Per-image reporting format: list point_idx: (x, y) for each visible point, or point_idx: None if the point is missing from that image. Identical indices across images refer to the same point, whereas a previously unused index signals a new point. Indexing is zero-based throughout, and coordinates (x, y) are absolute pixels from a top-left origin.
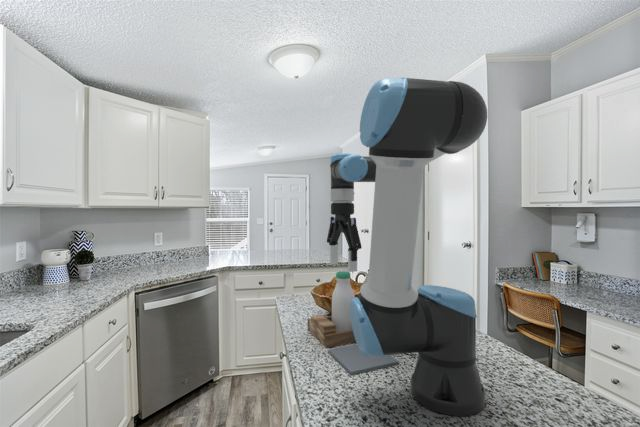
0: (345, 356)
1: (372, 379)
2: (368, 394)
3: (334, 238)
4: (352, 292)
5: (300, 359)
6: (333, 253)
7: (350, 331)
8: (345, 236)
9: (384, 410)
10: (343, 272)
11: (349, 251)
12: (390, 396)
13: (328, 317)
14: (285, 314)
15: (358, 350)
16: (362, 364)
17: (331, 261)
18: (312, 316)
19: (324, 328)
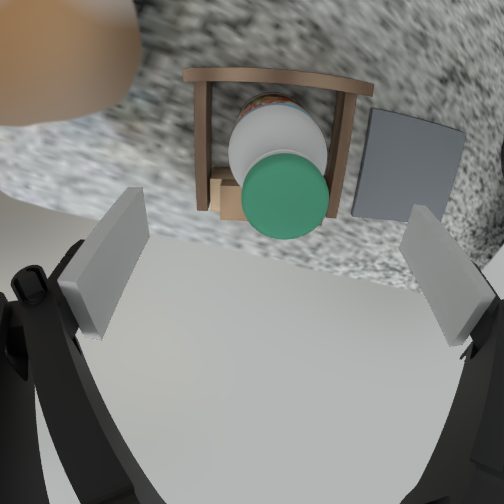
0: (397, 203)
1: (462, 202)
2: (476, 230)
3: (98, 395)
4: (317, 139)
5: (343, 265)
6: (118, 269)
7: (345, 152)
8: (440, 451)
9: (498, 233)
10: (289, 204)
11: (460, 339)
12: (494, 210)
13: (205, 150)
14: (79, 210)
15: (393, 164)
16: (436, 195)
17: (141, 245)
18: (224, 216)
19: (321, 222)
